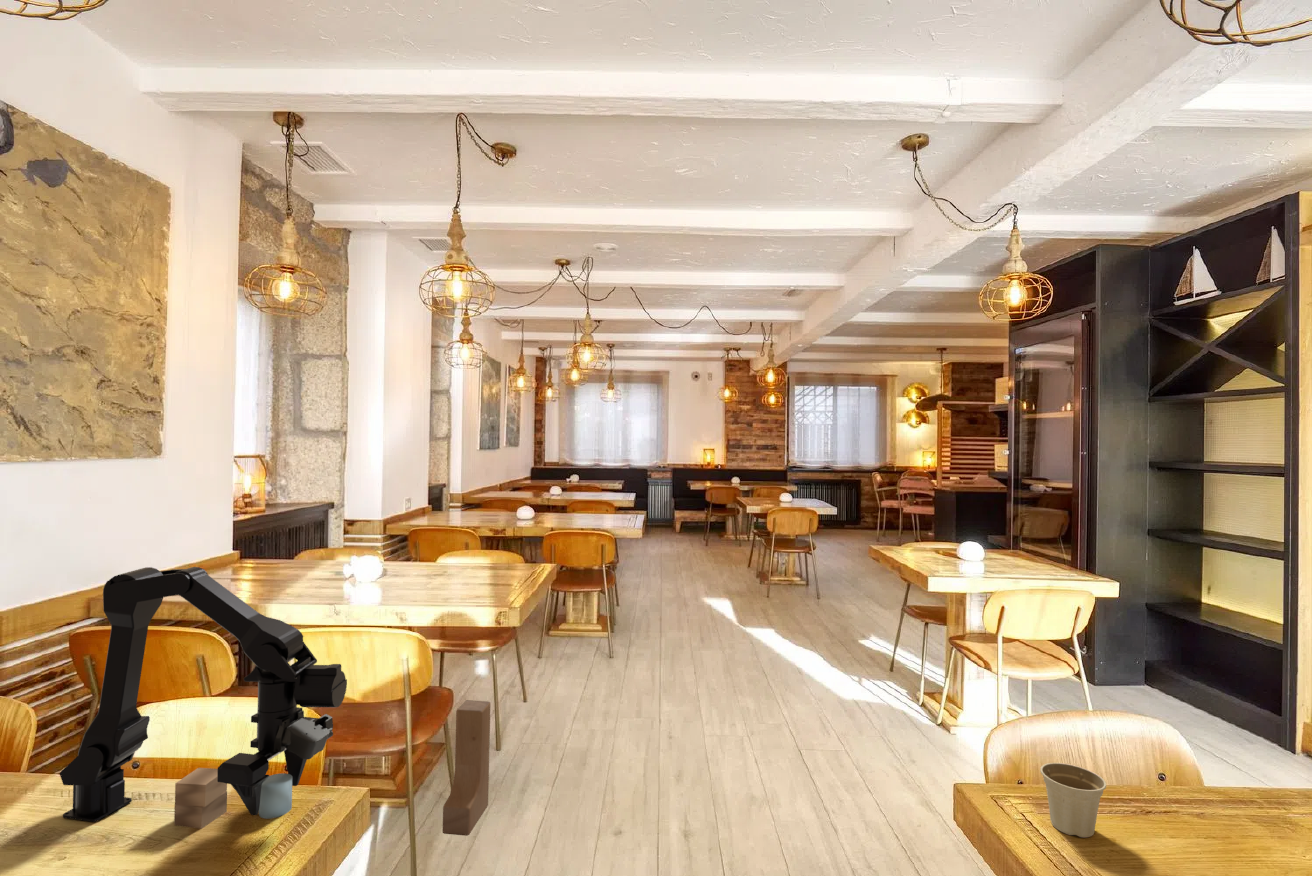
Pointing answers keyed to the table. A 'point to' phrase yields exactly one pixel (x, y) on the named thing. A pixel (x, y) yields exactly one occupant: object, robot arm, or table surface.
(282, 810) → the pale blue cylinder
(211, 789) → the upper block
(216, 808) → the lower block
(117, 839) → the table surface
